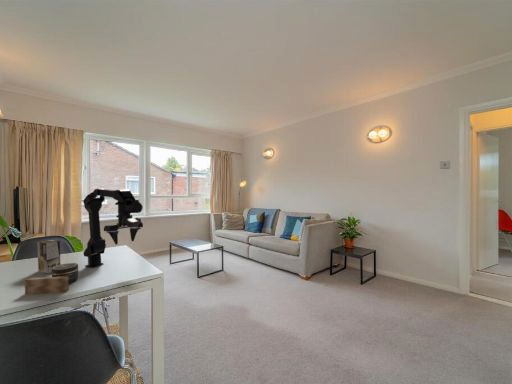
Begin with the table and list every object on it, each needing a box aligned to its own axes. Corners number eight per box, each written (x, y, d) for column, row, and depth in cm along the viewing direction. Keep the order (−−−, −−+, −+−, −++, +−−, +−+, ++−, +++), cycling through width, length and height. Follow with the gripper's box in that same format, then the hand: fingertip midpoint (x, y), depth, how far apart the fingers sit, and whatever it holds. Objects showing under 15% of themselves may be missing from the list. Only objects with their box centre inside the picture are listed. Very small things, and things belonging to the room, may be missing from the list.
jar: (80, 281, 113) (80, 265, 113) (52, 288, 106) (52, 271, 106) (76, 276, 120) (76, 261, 120) (50, 282, 113) (50, 266, 113)
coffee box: (61, 269, 129) (60, 240, 129) (46, 273, 124) (46, 243, 123) (52, 267, 133) (51, 239, 133) (37, 271, 127) (36, 241, 127)
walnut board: (25, 293, 100) (24, 279, 100) (29, 291, 102) (28, 278, 102) (65, 292, 102) (65, 278, 102) (68, 290, 104) (68, 276, 104)
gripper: (117, 214, 114) (117, 247, 113) (149, 211, 131) (150, 240, 130) (102, 214, 119) (103, 245, 118) (135, 212, 136) (136, 239, 135)
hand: (124, 242), depth 125 cm, fingers open, 9 cm apart
